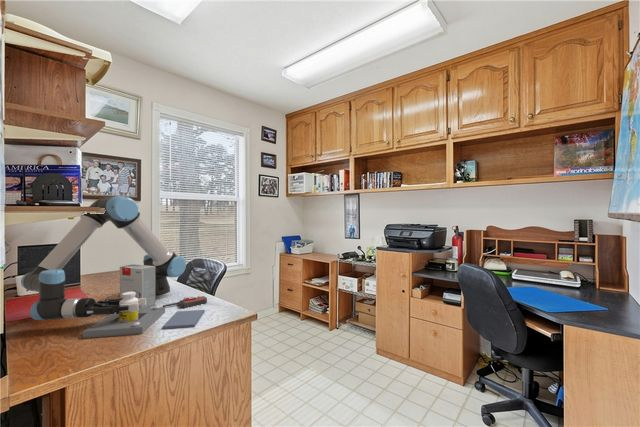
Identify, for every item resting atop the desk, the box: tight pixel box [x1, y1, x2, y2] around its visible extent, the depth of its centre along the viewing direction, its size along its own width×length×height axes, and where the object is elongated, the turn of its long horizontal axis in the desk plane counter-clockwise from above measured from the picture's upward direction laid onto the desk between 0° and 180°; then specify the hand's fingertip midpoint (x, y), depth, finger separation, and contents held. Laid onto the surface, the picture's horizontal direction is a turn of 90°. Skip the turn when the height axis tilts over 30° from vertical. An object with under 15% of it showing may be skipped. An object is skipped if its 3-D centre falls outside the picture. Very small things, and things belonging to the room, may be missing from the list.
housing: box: [82, 305, 166, 339], centre depth 118 cm, size 24×20×4 cm
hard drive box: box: [119, 264, 156, 309], centre depth 141 cm, size 16×8×20 cm, turn 72°
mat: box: [161, 309, 206, 330], centre depth 122 cm, size 18×12×1 cm, turn 10°
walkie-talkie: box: [162, 295, 208, 309], centre depth 141 cm, size 9×4×20 cm
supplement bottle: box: [119, 292, 139, 322], centre depth 118 cm, size 7×7×13 cm
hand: (141, 304), depth 119 cm, fingers closed on supplement bottle, 7 cm apart
